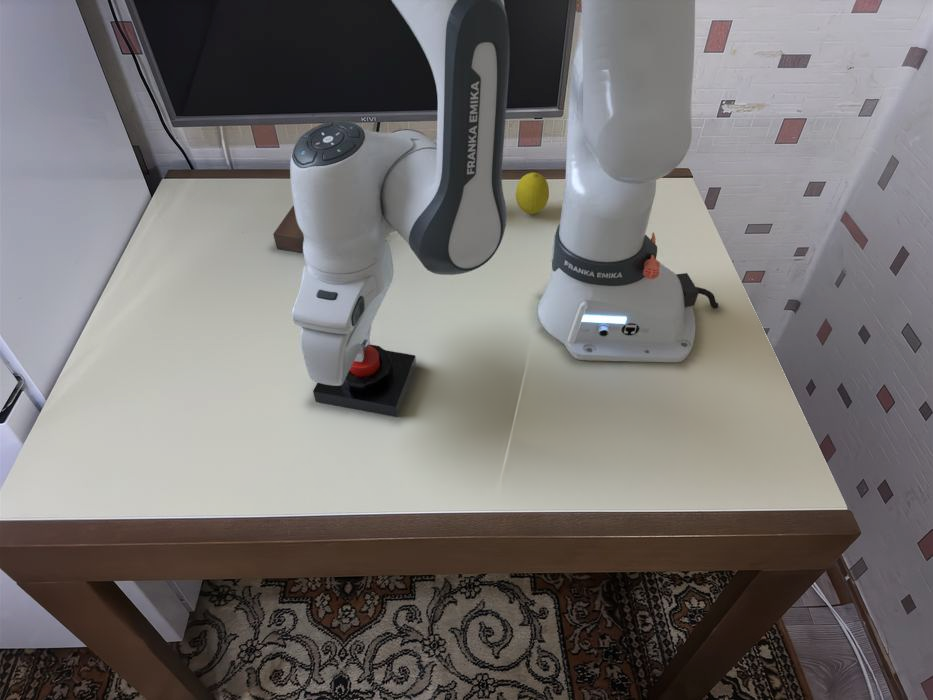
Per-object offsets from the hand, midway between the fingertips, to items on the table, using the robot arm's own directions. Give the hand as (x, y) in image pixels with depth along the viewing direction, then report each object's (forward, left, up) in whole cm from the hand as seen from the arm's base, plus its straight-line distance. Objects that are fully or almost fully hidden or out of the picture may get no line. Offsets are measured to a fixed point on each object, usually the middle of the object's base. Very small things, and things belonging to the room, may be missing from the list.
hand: (360, 353), depth 85 cm
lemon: (-15, -43, -6) cm, 46 cm away
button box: (0, 0, -6) cm, 6 cm away
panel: (+17, -29, -6) cm, 34 cm away
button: (0, 0, -2) cm, 2 cm away
